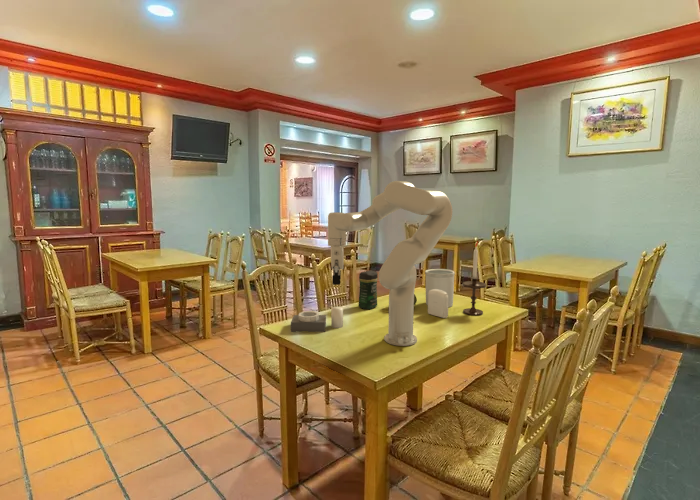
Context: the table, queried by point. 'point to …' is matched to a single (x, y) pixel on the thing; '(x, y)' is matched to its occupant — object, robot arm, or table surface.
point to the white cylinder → (337, 317)
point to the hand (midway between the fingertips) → (336, 281)
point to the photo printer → (438, 303)
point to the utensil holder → (440, 282)
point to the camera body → (308, 322)
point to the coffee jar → (368, 289)
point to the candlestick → (474, 287)
